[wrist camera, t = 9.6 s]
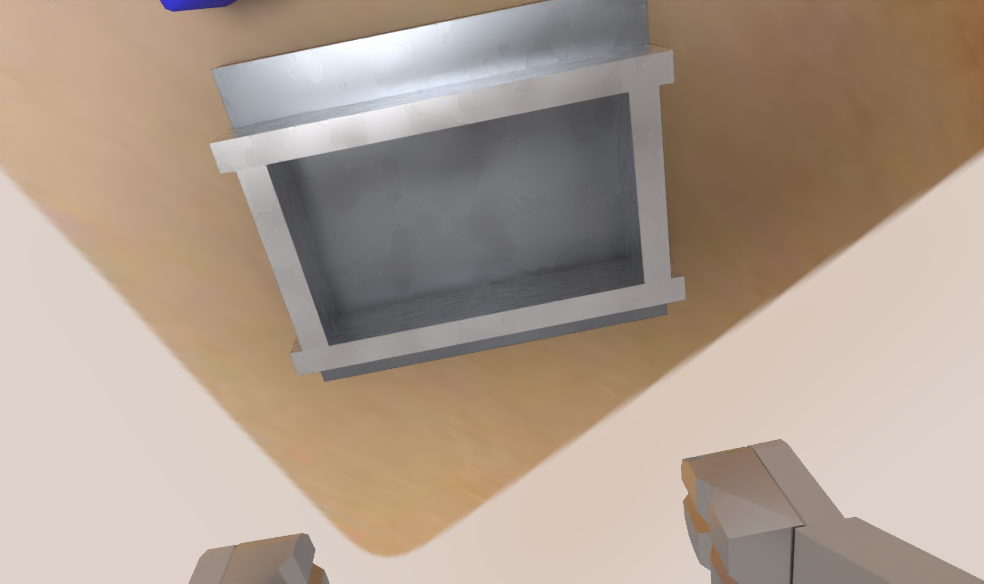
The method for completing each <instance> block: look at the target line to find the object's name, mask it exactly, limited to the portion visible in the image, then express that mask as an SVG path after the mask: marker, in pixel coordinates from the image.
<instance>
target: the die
mask: <svg viewBox="0 0 984 584" xmlns="http://www.w3.org/2000/svg"><path fill="white" fill-rule="evenodd" d="M160 1H161V3H162V4H163V6H164V7H165V9H167V10H170V11H173V12H174V11H184V10H195V9H205V8H215V7H225V6H227V5H229V4H231V3H233V2H235V1H236V0H160Z"/></svg>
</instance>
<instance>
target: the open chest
mask: <svg viewBox="0 0 984 584" xmlns="http://www.w3.org/2000/svg"><path fill="white" fill-rule="evenodd" d="M211 70H212V73H213V76H214V78H215V81H216V84H217V87H218V89H219V92H220V95H221V98H222V100H223V103H224V106H225V109H226V111H227V114H228V117H229V120H230V122H231V125H232V129H230V130H229V131H227V132H226V133H224V134H223V135H221V136H220V137H218V138H217V139H215V140H214V141H213V142H211V143H210V147H211V149H212V152H213V155H214V157H215V160H216V163H217V165H218V168H219V170H220V173H221V174H223V173H228V172H233V171H236V173H237V175H238V178H239V181H240V183H241V186H242V189H243V192H244V194H245V197H246V200H247V202H248V205H249V208H250V210H251V213H252V216H253V218H254V221H255V224H256V227H257V229H258V232H259V235H260V237H261V240H262V243H263V245H264V248H265V251H266V253H267V256H268V259H269V261H270V264H271V267H272V270H273V272H274V275H275V278H276V280H277V283H278V286H279V288H280V291H281V294H282V296H283V299H284V302H285V305H286V307H287V310H288V313H289V315H290V318H291V321H292V323H293V326H294V329H295V331H296V334H297V337H296V340H295V342H294V345H293V347H292V350H291V352H290V356H291V358H292V361H293V363H294V366H295V369H296V371H297V374H298V376H299V375H304V374H309V373H315V372H320V371H321V373H322V376H323V379H324V382H326V381H331V380H336V379H341V378H346V377H351V376H356V375H362V374H367V373H372V372H377V371H382V370H387V369H392V368H397V367H402V366H407V365H413V364H418V363H423V362H428V361H433V360H438V359H443V358H448V357H453V356H458V355H463V354H469V353H474V352H479V351H484V350H489V349H494V348H499V347H504V346H509V345H514V344H520V343H525V342H530V341H535V340H540V339H545V338H550V337H555V336H560V335H565V334H571V333H576V332H581V331H586V330H591V329H596V328H601V327H606V326H611V325H616V324H622V323H627V322H632V321H637V320H642V319H647V318H652V317H657V316H662V315H667V303H671V302H676V301H681V300H686V298H685V278H684V275H683V274H682V273H681V271H680V270H679V269H678V268H677V267H676V266H675V264H674V263H673V262H672V261H671V260H670V252H669V236H668V220H667V203H666V187H665V171H664V155H663V138H662V122H661V106H660V89H659V86H660V85H665V84H670V83H675V82H674V62H673V50H671V49H667V48H663V47H659V46H656V45H652V44H649V32H648V16H647V1H646V0H544V1H539V2H534V3H529V4H524V5H519V6H514V7H509V8H504V9H499V10H494V11H489V12H485V13H480V14H475V15H470V16H465V17H460V18H455V19H450V20H445V21H440V22H435V23H430V24H426V25H421V26H416V27H411V28H406V29H401V30H396V31H391V32H386V33H381V34H376V35H371V36H367V37H362V38H357V39H352V40H347V41H342V42H337V43H332V44H327V45H322V46H317V47H313V48H308V49H303V50H298V51H293V52H288V53H283V54H278V55H273V56H268V57H263V58H258V59H254V60H249V61H244V62H239V63H234V64H229V65H224V66H220V67H217V68H214V69H211Z"/></svg>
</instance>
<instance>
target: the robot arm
mask: <svg viewBox="0 0 984 584" xmlns="http://www.w3.org/2000/svg"><path fill="white" fill-rule="evenodd" d="M681 473H682V480H683V482H684V485H685V487H686V488H687V491H688V495H687V496H686V498H685V499H684V501H683V504H684V514H685V520H686V525H687V529H688V534H689V537H690V540H691V543H692V545H693V549H694V551H695V553H696V555H697V558H698V560H699V562H700V564H701V565H703V566H704V567H706V568H707V569H709V570H710V571H711V584H984V581H983V580H981V579H979V578H977V577H975V576H973V575H971V574H969V573H967V572H965V571H963V570H961V569H959V568H957V567H955V566H953V565H951V564H949V563H947V562H945V561H943V560H941V559H939V558H937V557H935V556H933V555H931V554H929V553H927V552H925V551H923V550H921V549H919V548H917V547H915V546H913V545H911V544H909V543H907V542H905V541H903V540H901V539H899V538H897V537H895V536H893V535H891V534H889V533H887V532H885V531H883V530H881V529H879V528H877V527H875V526H873V525H871V524H869V523H867V522H865V521H863V520H861V519H859V518H857V517H852V518H846V519H845V518H844V517H843V515H842V514H841V512H840V511H839V510H838V509H837V507H836V506H835V505H834V503H833V502H832V501H831V500H830V498H829V497H828V496H827V494H826V493H825V492H824V491H823V489H822V488H821V487H820V485H819V484H818V483H817V482H816V480H815V479H814V477H813V476H812V475H811V474H810V472H809V471H808V470H807V468H806V467H805V466H804V465H803V463H802V462H801V461H800V459H799V458H798V457H797V456H796V454H795V453H794V452H793V450H792V449H791V448H790V446H789V445H788V444H787V443H786V442H784V441H782V440H781V439H779V440H774V441H769V442H764V443H759V444H754V445H750V446H747V447H741V448H736V449H731V450H726V451H721V452H716V453H711V454H706V455H702V456H697V457H692V458H686V459H683V460H682V465H681ZM314 553H315V548H314V546H313V544H312V542H311V540H310V538H309V536H308V534H303V533H301V534H294V535H288V536H282V537H276V538H270V539H264V540H258V541H253V542H247V543H241V544H239V545H233V546H227V547H220V548H215V549H209V550H207V551H206V552H205V553H204V554H203V555H202V556H201V557H200V559H199V561H198V563H197V565H196V568H195V570H194V572H193V575H192V577H191V580H190V582H189V584H329V581H328V578H327V576H326V573H325V571H324V569H322V568H320V567H318V566H317V565H315V564H313V558H314Z"/></svg>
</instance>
